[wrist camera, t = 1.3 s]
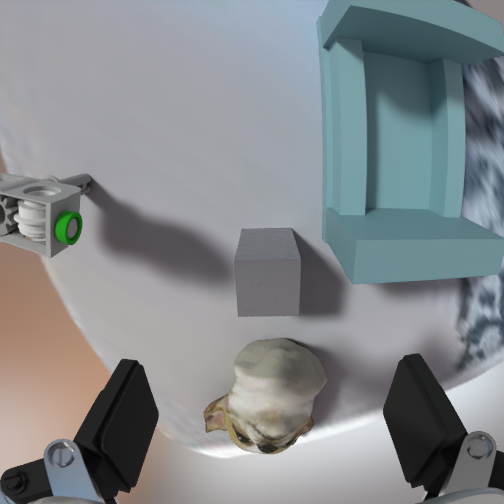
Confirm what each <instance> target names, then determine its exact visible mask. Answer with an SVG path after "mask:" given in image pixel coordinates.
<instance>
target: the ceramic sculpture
mask: <svg viewBox="0 0 504 504" xmlns="http://www.w3.org/2000/svg"><path fill="white" fill-rule="evenodd" d="M234 371H235V374H236V378H235V382H234V384H233V387H232V389H231V390H230V391H229V394H227V395H225V396H223V397H221V398H219V399H217V400H215V401H214V402H212V403H211V404H209V406H208V407H207V408H206V410H205V411H204V419H205V422H206V433H208V432H211V431H213V430H218V429H219V430H224V431H225V430H228V433H229V436H230V438H231V440H232V441H233V442H234V443H235V444H236V445H237V446H238V447H240V448H241V449H243V450H245V451H248V452H253V453H260V454H276V453H279V452H282V451H284V450H285V449H287V448H288V447H290V446H291V445H293V444H294V443H295V442H296V440H297V439H298V437H299V436H300V435H301V434H304V433H306V432H309V431H310V430H311V428H312V427H313V425H314V422H313V419H312V417H311V413H312V411H313V406H314V404H313V403H314V397H315V396H316V395H317V394H319V393H320V391H321V390H322V389H323V387H324V385H325V384H326V383H327V381H328V379H327V376H326V373H325V371H324V368H323V366H322V364H321V362H320V360H319V359H318V358H317V356H315V355H314V354H313V353H311V352H310V351H309V350H308V349H306V348H304V347H301V346H299V345H297V344H295V343H294V342H292V341H290V340H288V339H284V338H280V339H271V340H258V341H254V342H252V343H250V344H248V345H247V346H246V347H244V349H243V350H242V351H241V352H240V353H239V355H238V356H237V358H236V360H235V362H234Z"/></svg>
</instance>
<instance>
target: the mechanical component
mask: <svg viewBox="0 0 504 504" xmlns="http://www.w3.org/2000/svg"><path fill="white" fill-rule="evenodd" d="M90 181H91V177H90V176H89V175H88V174H81V175H77V176H73V177H70V178H66V179H62V180H58V179H57V178H56V177H54V176H51V175H48V176H45V177H43V178H42V179H35V178H29V177H24V176H18V175H12V174H5V173H0V242H7V243H9V244H12V245H15V246H18V247H21V248H24V249H26V250H29V251H32V252H35V253H38V254H41V255H44V256H47V257H50V258H52V257H53V256H55V255H56V254H58V253H59V252H61V251H62V250H64V249H65V248H67V247H68V245H73V244H75V243H76V241H77V240H78V239H79V236H80V234H81V230H82V217H81V215H80V214H79V209H80V195H83V194H86V193H88V192H90V187H88V186H86V185H87V183H88V182H90ZM25 236H28V237H31V238H38V239H41V238H46V241H41V242H39V241H30V240H27V239H26V238H24V237H25Z"/></svg>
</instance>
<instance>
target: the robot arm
mask: <svg viewBox="0 0 504 504" xmlns="http://www.w3.org/2000/svg"><path fill="white" fill-rule="evenodd" d="M383 415H384V418H385V421H386V424H387V426H388V429H389V432H390V435H391V438H392V440H393V443H394V446H395V449H396V452H397V455H398V458H399V461H400V464H401V467H402V470H403V473H404V476H405V480H406V481H407V482H408V483H410V484H411V487H412V488H415V487H418V486H421V485H423V486H424V489H425V493H424V495H423V497H422V499H421V501H420V503H417V504H504V453H503V452H500V451H498V450H496V442H495V440H494V439H493V437H492V436H491V435H489V434H488V433H485V432H482V431H476V432H472V433H470V434H468V433H467V431H466V429H465V427H464V425H463V423H462V422H461V420H460V418H459V416H458V415H457V413H456V411H455V409H454V407H453V406H452V404H451V402H450V400H449V399H448V397H447V395H446V394H445V392H444V390H443V389H442V387H441V386H440V385H439V383H438V382H437V380H436V378H435V377H434V375H433V374H432V372H431V370H430V369H429V367H428V366H427V364H426V362H425V361H424V359H423V358H422V356H421V355H420V354H419V353H417V354H411V355H405V356H404V357H403V359H402V360H400V361H399V363H398V366H397V370H396V373H395V376H394V379H393V382H392V385H391V388H390V391H389V394H388V396H387V399H386V402H385V405H384V408H383ZM158 417H159V413H158V409H157V407H156V404H155V401H154V398H153V395H152V392H151V389H150V386H149V383H148V380H147V377H146V374H145V371H144V367H143V366H142V365H140V364H139V362H138V361H137V360H129V359H122V360H121V361H120V362H119V364H118V366H117V367H116V369H115V371H114V373H113V374H112V376H111V378H110V380H109V381H108V383H107V385H106V386H105V388H104V390H102V391H101V392H100V393H99V395H98V397H97V398H96V400H95V402H94V404H93V405H92V407H91V409H90V411H89V412H88V414H87V416H86V418H85V420H84V421H83V423H82V425H81V427H80V429H79V431H78V432H77V434H76V436H75V438H74V440H73V441H70V440H68V439H58V440H55V441H53V442H51V443H50V444H49V445H48V446H47V447H46V449H45V451H44V458H42V459H39V460H36V461H33V462H30V463H27V464H24V465H20V466H17V467H14V468H11V469H8V470H6V471H5V472H4V473H3V475H2V477H1V480H0V504H120V503H119V502H118V499H117V498H116V496H117V494H118V491H119V490H120V491H124V492H127V493H130V490H131V487H135V486H136V484H137V481H138V478H139V475H140V472H141V468H142V466H143V463H144V460H145V457H146V453H147V451H148V448H149V445H150V442H151V439H152V436H153V433H154V430H155V427H156V424H157V422H158Z"/></svg>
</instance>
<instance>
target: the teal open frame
mask: <svg viewBox="0 0 504 504" xmlns="http://www.w3.org/2000/svg"><path fill="white" fill-rule="evenodd" d="M317 31H318V43H319V56H320V71H321V89H322V114H323V221H322V239H323V240H324V242H325V243H328V244H329V246H330V247H331V249H332V251H333V252H334V254H335V256H336V257H337V259H338V261H339V262H340V264H341V266H342V267H343V269H344V271H345V272H346V274H347V276H348V277H349V279H350V281H351V283H352V284H370V283H389V282H406V281H422V280H437V279H450V278H463V277H475V276H486V275H497V274H499V271H500V267H501V263H502V258H503V254H504V238H503V237H501V236H499V235H497V234H495V233H494V232H492V231H490V230H488V229H486V228H484V227H482V226H480V225H478V224H476V223H474V222H472V221H470V220H468V219H466V218H464V217H462V216H461V208H462V199H463V187H464V173H465V104H464V89H463V79H462V70H461V66H463V65H467V64H471V63H475V62H478V61H482V60H486V59H491V58H495V57H499V56H504V33H503V29H502V25H501V23H500V22H499V21H497V20H495V19H493V18H491V17H489V16H487V15H485V14H483V13H481V12H479V11H477V10H475V9H472V8H470V7H468V6H466V5H463V4H461V3H459V2H456V1H454V0H329V2H328V5H327V7H326V9H325V11H324V13H323V15H322V16H319V19H318V21H317Z"/></svg>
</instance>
